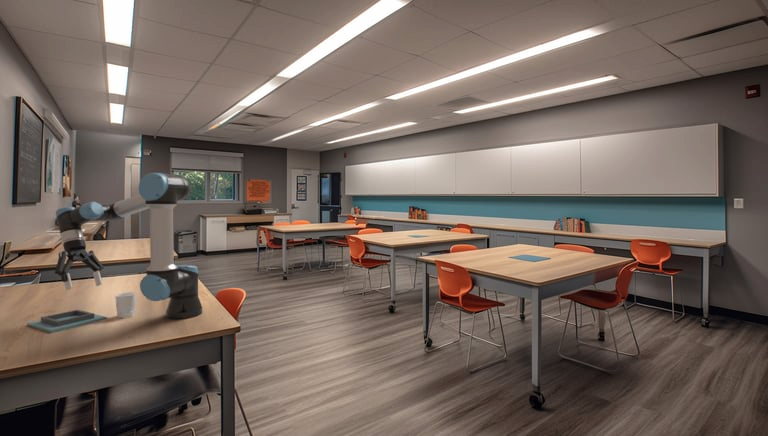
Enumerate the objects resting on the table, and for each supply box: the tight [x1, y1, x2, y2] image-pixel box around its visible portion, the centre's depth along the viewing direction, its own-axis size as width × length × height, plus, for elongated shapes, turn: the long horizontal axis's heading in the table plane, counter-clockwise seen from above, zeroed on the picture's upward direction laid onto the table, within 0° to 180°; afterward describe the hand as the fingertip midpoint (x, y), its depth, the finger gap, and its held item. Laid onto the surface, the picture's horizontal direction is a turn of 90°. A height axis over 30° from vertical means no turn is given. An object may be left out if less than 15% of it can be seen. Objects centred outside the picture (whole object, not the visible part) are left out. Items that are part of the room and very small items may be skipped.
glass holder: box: [26, 309, 108, 334], centre depth 162 cm, size 20×20×3 cm
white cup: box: [115, 291, 137, 319], centre depth 172 cm, size 8×8×10 cm
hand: (85, 287), depth 164 cm, fingers open, 13 cm apart
